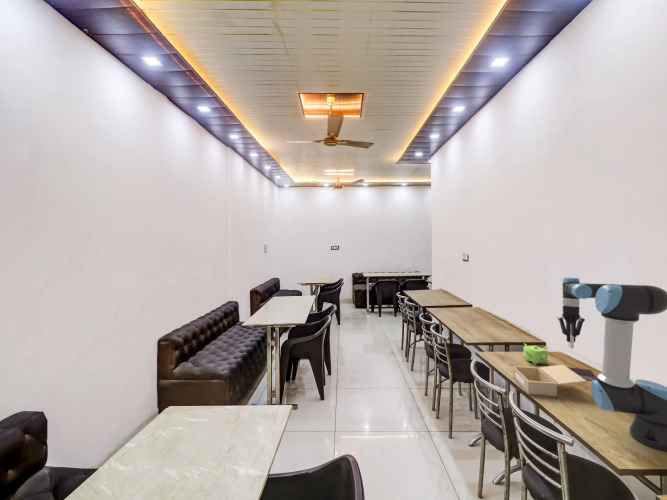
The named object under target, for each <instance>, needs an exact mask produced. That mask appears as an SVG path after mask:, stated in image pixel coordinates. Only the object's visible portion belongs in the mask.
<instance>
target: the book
mask: <svg viewBox="0 0 667 500" xmlns="http://www.w3.org/2000/svg"><path fill="white" fill-rule="evenodd" d="M552 366H556V364H555V365H552ZM566 367H567V368H569V369H570V370H572V371H573V372H575V373H576V374H577V375H579V376H580V377H582V378H583V379H585V380H586V381H592V380H597V379H596V378H597V376H596V375H595V373H594V372H593V371H592V370H591V369H584V368H577V367H569V366H566Z"/></svg>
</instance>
